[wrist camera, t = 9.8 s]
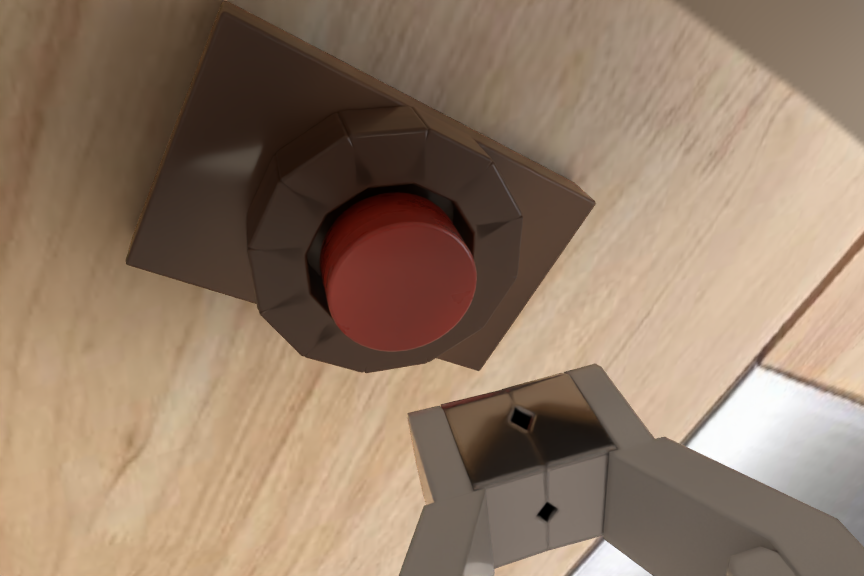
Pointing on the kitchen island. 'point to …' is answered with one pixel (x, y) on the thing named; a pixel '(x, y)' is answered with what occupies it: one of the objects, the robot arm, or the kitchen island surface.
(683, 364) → the kitchen island surface
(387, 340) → the bell button
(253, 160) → the block
